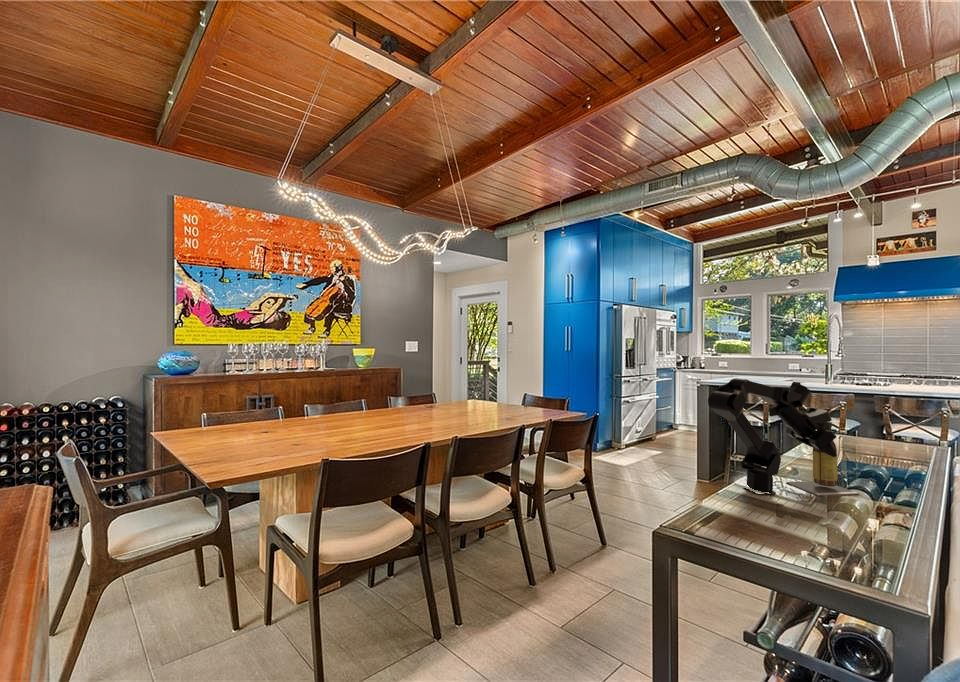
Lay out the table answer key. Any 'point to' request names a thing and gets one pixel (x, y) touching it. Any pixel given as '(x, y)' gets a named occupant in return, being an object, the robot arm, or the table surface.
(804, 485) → the mat
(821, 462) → the sauce bottle
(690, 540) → the table surface
